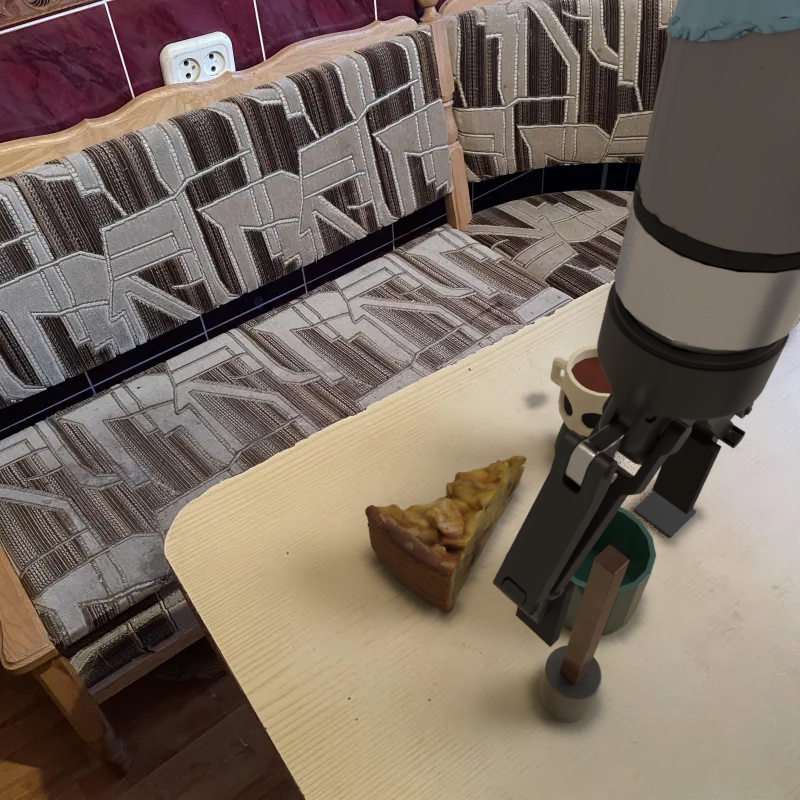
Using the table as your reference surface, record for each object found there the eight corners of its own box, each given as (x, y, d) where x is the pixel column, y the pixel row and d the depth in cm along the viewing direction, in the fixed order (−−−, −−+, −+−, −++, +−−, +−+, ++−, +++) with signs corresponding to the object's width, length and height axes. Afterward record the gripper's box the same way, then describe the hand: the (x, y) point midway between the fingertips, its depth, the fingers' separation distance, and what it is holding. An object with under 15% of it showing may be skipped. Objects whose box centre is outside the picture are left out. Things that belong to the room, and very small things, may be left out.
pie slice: (439, 626, 68) (440, 582, 62) (363, 557, 73) (357, 510, 67) (561, 508, 76) (573, 459, 71) (485, 453, 81) (490, 403, 76)
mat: (695, 513, 76) (696, 510, 75) (669, 538, 74) (670, 536, 73) (658, 486, 78) (659, 484, 78) (632, 511, 76) (633, 508, 76)
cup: (656, 593, 70) (677, 547, 64) (594, 657, 66) (610, 613, 60) (579, 532, 74) (592, 484, 69) (517, 588, 71) (525, 541, 65)
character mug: (521, 447, 82) (534, 361, 72) (561, 411, 85) (578, 324, 76) (607, 504, 76) (632, 420, 67) (645, 464, 80) (675, 377, 70)
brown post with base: (602, 697, 63) (662, 561, 47) (568, 734, 62) (618, 604, 45) (561, 660, 66) (605, 517, 50) (527, 694, 64) (562, 557, 48)
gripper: (775, 159, 39) (674, 424, 55) (424, 398, 29) (423, 643, 44) (921, 219, 36) (768, 485, 51) (581, 522, 25) (519, 743, 40)
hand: (608, 559), depth 48 cm, fingers open, 13 cm apart
